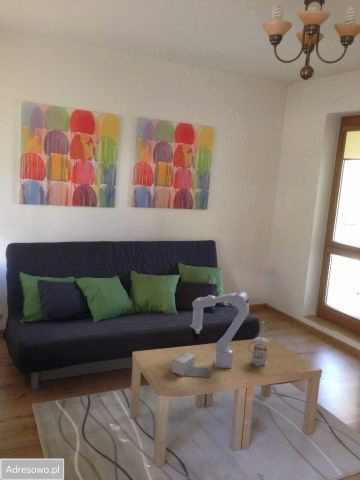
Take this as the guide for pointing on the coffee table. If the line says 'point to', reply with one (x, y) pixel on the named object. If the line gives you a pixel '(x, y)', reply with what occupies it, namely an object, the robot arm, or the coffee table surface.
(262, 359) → the french press
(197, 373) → the mat
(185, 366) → the supplement box
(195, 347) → the coffee table surface
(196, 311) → the robot arm
